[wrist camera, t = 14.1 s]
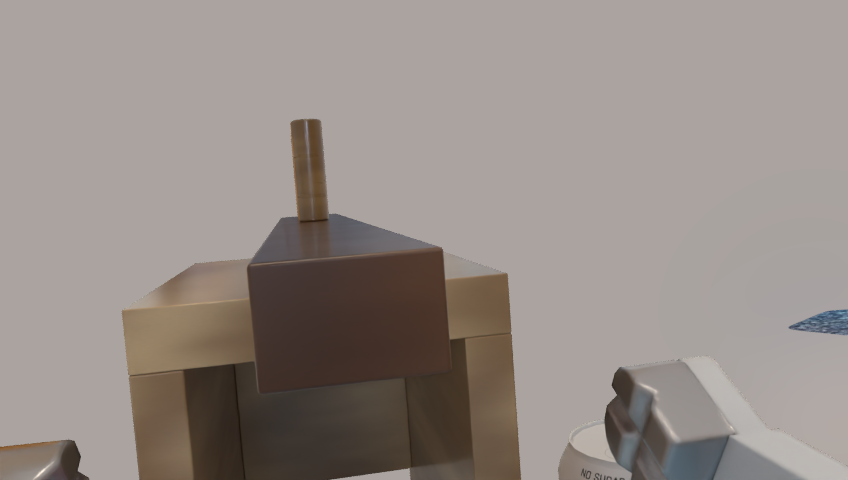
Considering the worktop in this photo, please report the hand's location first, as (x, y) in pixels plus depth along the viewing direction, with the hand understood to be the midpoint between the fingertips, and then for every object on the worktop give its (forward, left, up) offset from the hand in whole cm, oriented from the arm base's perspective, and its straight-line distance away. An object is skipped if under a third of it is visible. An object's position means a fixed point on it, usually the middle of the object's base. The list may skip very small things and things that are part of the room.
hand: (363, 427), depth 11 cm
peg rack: (0, +14, +1) cm, 14 cm away
